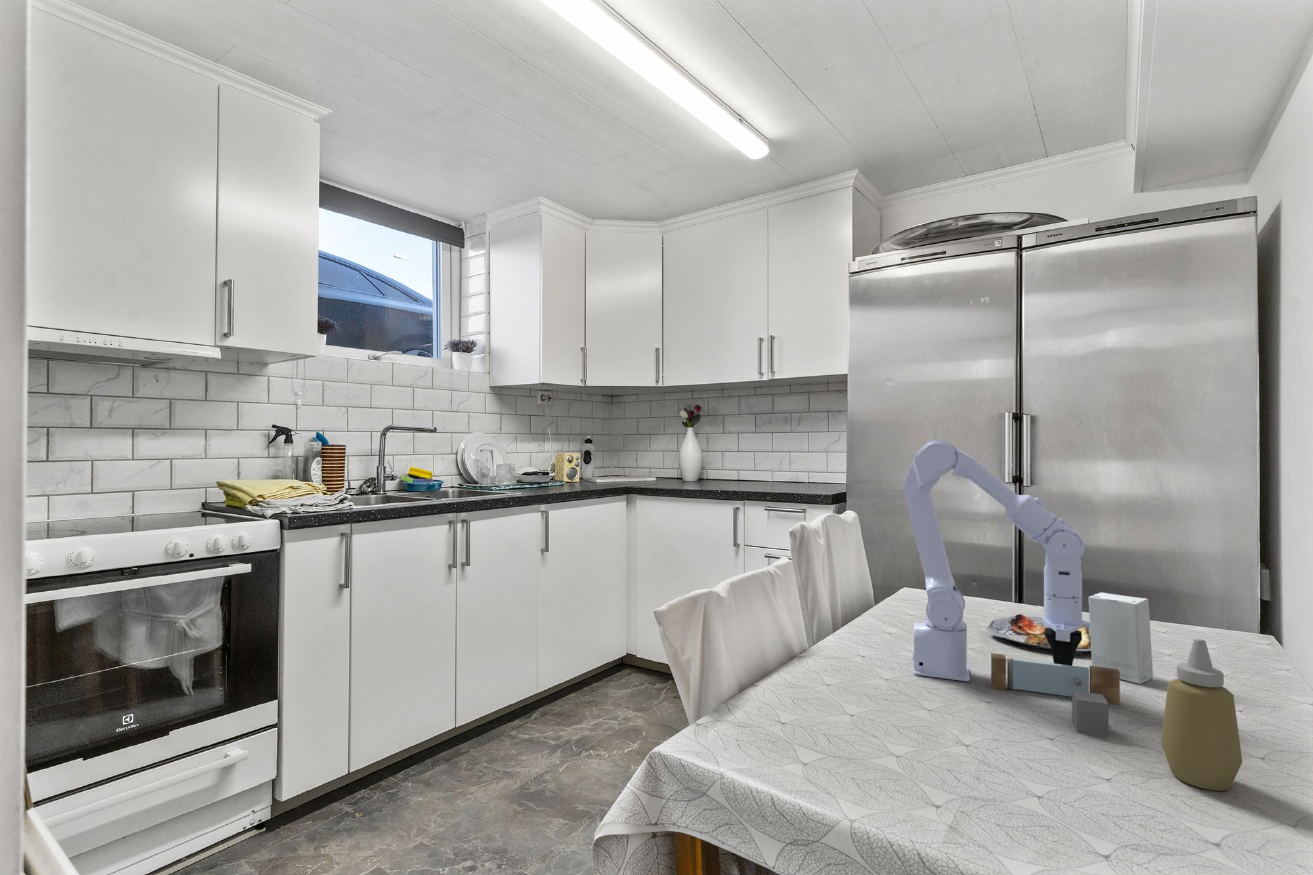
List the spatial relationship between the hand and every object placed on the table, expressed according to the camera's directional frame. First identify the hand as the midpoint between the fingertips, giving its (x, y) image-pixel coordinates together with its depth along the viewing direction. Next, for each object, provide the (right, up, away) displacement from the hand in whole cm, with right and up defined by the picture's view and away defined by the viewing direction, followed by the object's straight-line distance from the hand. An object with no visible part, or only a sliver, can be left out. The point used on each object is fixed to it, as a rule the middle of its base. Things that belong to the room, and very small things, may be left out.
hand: (1062, 672), depth 115 cm
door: (-4, -3, -2) cm, 5 cm away
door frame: (-4, -3, -1) cm, 5 cm away
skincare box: (+16, -4, +8) cm, 18 cm away
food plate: (+16, -4, +30) cm, 34 cm away
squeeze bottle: (-1, -3, -31) cm, 31 cm away
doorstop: (-6, -3, -16) cm, 17 cm away
